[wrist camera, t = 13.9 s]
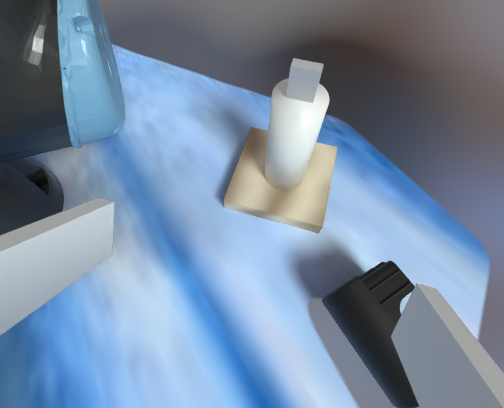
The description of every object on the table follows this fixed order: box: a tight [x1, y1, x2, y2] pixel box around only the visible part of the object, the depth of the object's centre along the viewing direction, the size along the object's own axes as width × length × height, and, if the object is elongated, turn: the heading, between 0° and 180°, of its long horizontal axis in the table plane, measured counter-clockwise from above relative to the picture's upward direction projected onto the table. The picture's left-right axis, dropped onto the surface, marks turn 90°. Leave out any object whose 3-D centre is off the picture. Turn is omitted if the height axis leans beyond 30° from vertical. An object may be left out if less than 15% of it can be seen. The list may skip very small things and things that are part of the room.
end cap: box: [322, 261, 419, 408], centre depth 25 cm, size 10×7×7 cm
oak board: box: [223, 127, 337, 233], centre depth 35 cm, size 12×12×2 cm
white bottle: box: [264, 58, 329, 190], centre depth 28 cm, size 5×5×15 cm
